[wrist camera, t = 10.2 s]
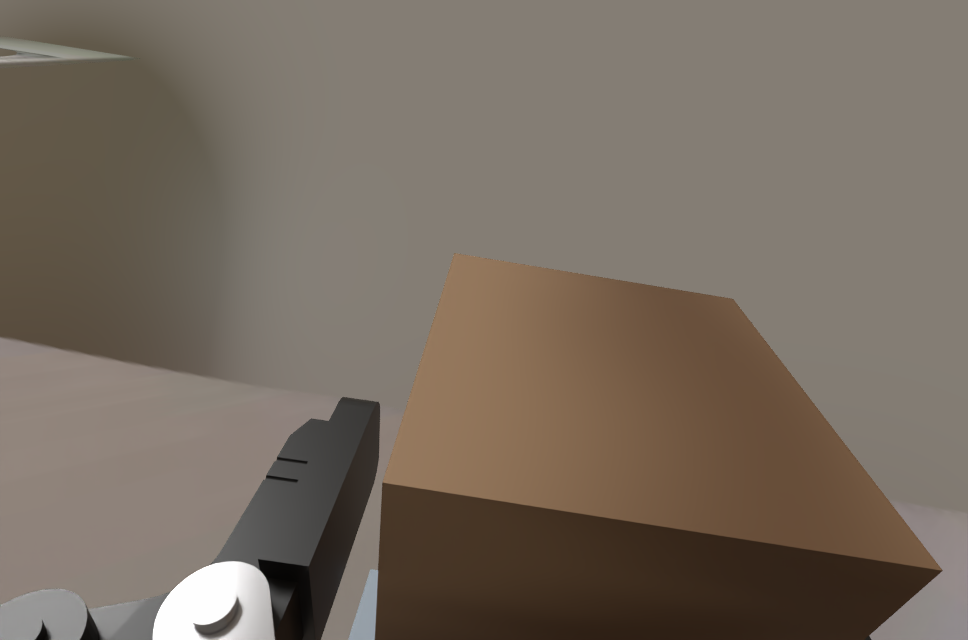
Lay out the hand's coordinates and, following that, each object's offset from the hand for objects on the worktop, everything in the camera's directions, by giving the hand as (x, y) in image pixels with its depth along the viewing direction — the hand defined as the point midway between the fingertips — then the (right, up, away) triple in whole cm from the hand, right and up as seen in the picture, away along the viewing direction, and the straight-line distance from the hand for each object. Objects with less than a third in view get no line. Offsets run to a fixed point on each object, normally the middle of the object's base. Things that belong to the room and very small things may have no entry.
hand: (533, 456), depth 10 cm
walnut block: (-1, -8, +2) cm, 8 cm away
